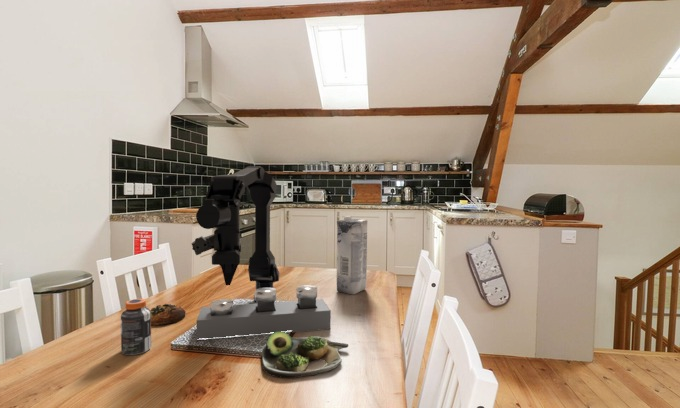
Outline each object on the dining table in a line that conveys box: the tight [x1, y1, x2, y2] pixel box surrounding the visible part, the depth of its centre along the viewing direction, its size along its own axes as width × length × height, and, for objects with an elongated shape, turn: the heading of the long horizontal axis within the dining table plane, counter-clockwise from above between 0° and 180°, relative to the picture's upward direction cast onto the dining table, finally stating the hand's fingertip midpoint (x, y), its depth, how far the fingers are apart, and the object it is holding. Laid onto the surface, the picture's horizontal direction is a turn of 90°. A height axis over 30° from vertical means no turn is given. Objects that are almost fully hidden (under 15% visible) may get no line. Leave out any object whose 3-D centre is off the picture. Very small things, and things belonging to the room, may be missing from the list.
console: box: [196, 298, 332, 340], centre depth 96 cm, size 10×33×5 cm, turn 105°
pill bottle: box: [120, 298, 152, 356], centre depth 82 cm, size 6×6×11 cm
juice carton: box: [336, 215, 368, 295], centre depth 131 cm, size 9×10×27 cm
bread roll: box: [150, 303, 186, 326], centre depth 102 cm, size 11×11×5 cm
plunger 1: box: [209, 298, 234, 316], centre depth 93 cm, size 6×6×7 cm
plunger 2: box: [296, 284, 318, 309], centre depth 99 cm, size 6×6×7 cm
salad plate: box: [261, 331, 349, 379], centre depth 80 cm, size 19×18×5 cm
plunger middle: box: [254, 287, 277, 313], centre depth 96 cm, size 6×6×7 cm
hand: (228, 284), depth 93 cm, fingers closed
